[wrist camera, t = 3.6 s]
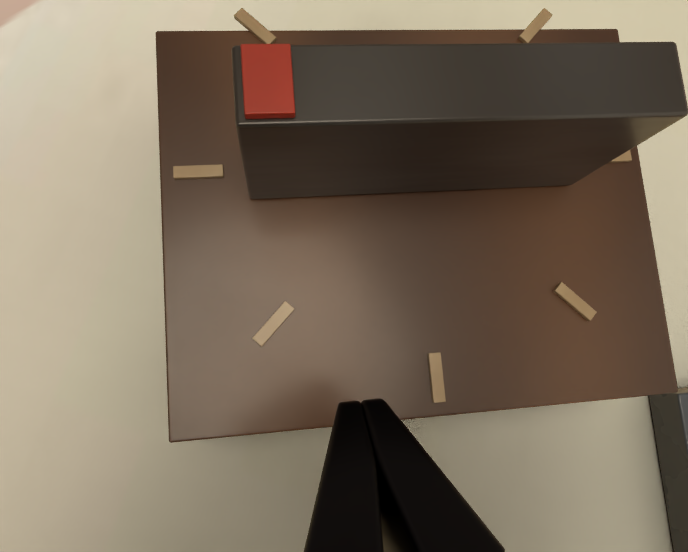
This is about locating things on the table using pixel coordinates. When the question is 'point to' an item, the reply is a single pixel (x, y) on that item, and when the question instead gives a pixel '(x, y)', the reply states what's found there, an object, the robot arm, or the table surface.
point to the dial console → (389, 272)
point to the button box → (673, 459)
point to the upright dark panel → (445, 113)
